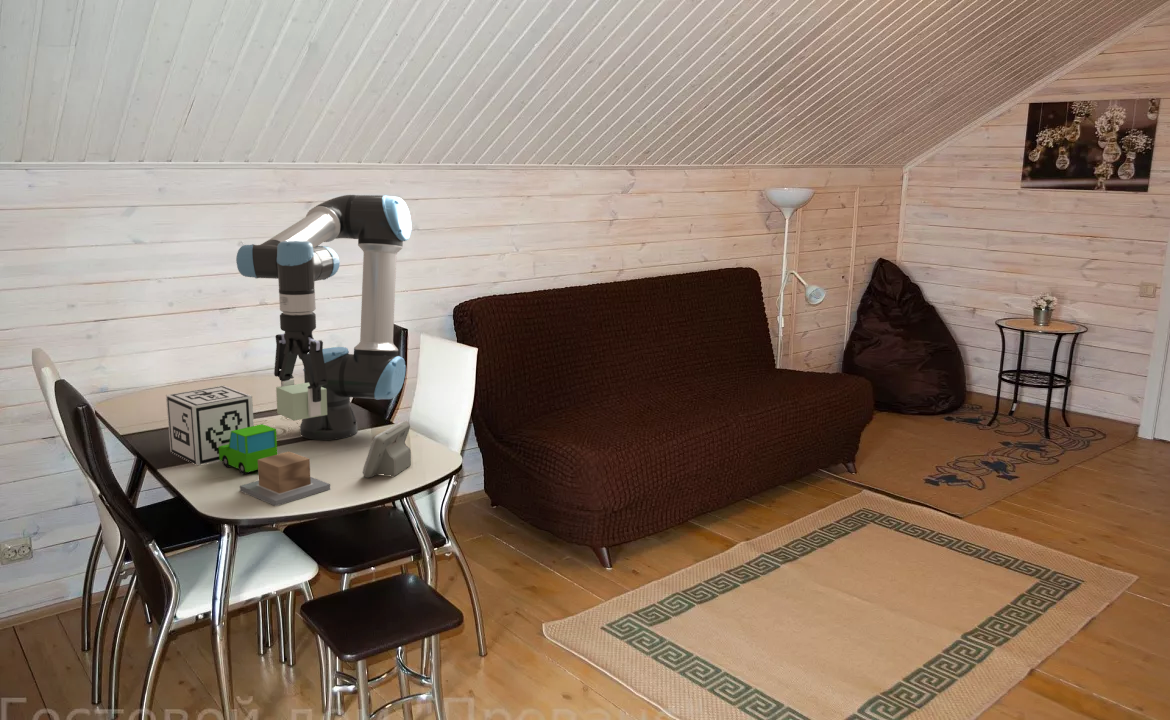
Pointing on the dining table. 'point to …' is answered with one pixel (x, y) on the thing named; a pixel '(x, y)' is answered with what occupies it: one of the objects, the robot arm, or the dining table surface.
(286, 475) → the walnut block
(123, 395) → the dining table surface
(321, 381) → the robot arm
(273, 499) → the plate
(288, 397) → the green block
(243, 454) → the toy car
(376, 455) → the digital clock
